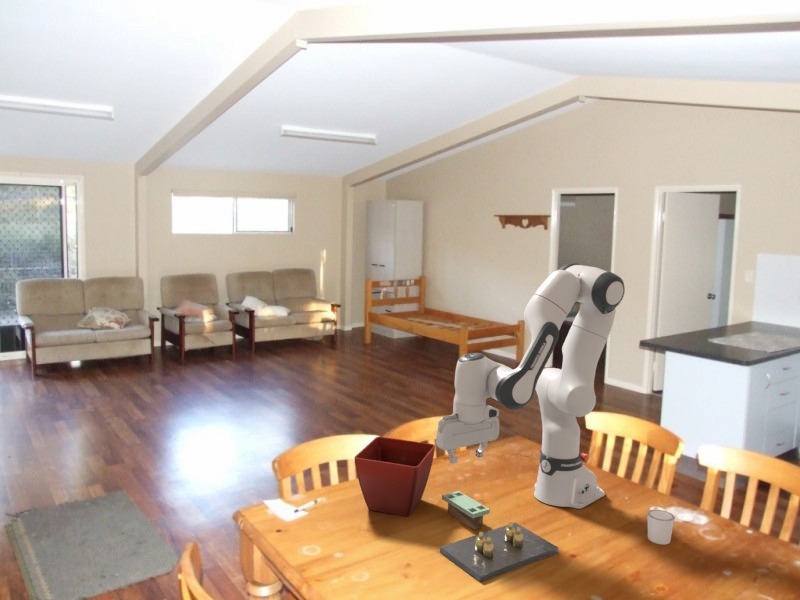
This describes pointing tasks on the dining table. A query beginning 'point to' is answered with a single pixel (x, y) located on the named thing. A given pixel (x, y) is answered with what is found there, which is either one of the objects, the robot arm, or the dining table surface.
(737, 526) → the dining table surface
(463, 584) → the dining table surface
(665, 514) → the white cup
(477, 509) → the board
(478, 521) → the stand
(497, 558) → the peg assembly base
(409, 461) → the plant pot
